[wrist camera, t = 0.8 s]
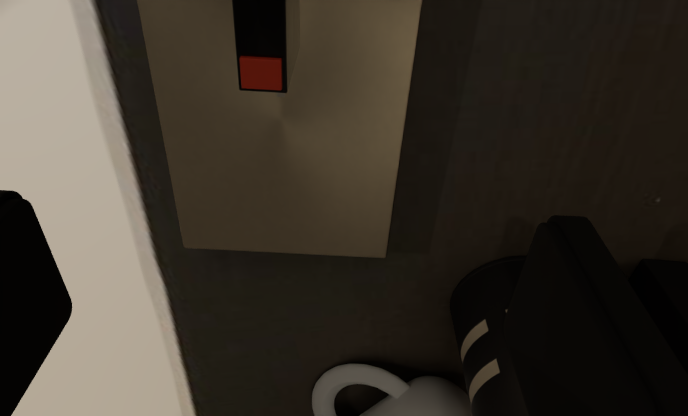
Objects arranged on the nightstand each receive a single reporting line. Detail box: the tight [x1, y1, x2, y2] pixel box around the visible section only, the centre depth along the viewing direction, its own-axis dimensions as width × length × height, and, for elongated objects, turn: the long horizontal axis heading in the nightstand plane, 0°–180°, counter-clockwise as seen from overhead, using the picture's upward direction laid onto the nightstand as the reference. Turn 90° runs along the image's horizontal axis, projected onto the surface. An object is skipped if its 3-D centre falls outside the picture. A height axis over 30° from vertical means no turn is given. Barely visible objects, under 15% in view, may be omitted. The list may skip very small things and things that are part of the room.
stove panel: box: [137, 0, 423, 258], centre depth 22 cm, size 19×11×3 cm, turn 177°
